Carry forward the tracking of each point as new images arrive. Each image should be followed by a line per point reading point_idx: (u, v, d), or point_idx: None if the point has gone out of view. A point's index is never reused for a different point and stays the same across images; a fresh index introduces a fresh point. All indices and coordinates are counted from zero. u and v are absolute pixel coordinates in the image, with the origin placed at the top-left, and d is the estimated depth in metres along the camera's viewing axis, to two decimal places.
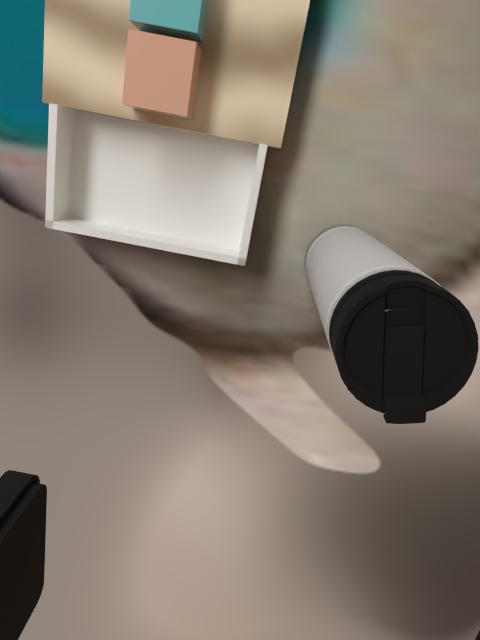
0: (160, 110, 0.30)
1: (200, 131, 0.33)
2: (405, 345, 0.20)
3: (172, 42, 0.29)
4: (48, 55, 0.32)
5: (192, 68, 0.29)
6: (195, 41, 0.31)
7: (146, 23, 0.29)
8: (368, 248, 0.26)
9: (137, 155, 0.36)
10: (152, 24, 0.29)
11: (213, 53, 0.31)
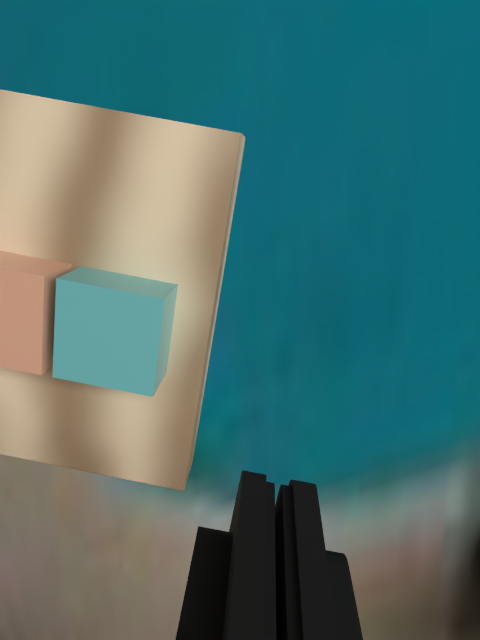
0: None
1: None
2: None
3: (35, 341, 0.19)
4: (29, 104, 0.18)
5: (7, 367, 0.20)
6: None
7: (56, 303, 0.18)
8: None
9: None
10: (56, 312, 0.19)
11: None
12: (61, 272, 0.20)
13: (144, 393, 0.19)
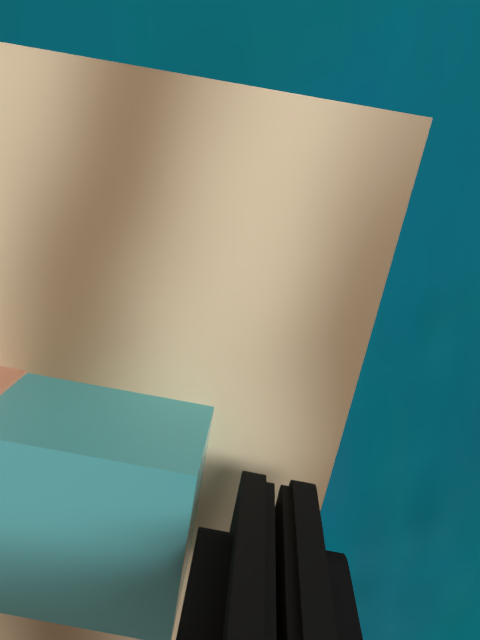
0: None
1: None
2: None
3: None
4: None
5: None
6: None
7: None
8: None
9: None
10: None
11: None
12: None
13: (153, 638, 0.10)
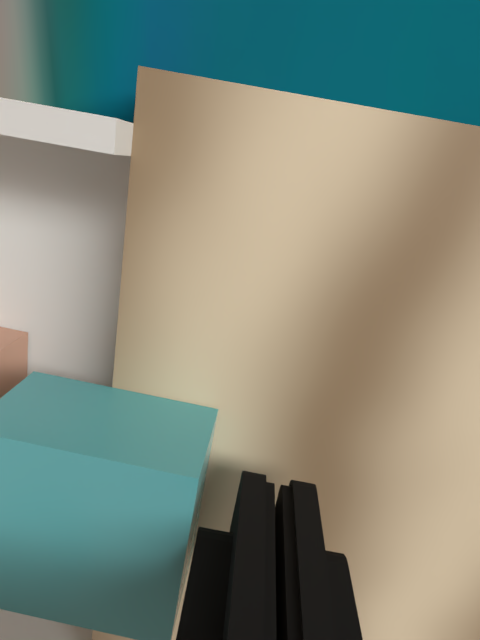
0: None
1: None
2: None
3: None
4: (300, 115, 0.08)
5: None
6: None
7: None
8: None
9: (49, 339, 0.12)
10: None
11: None
12: None
13: None
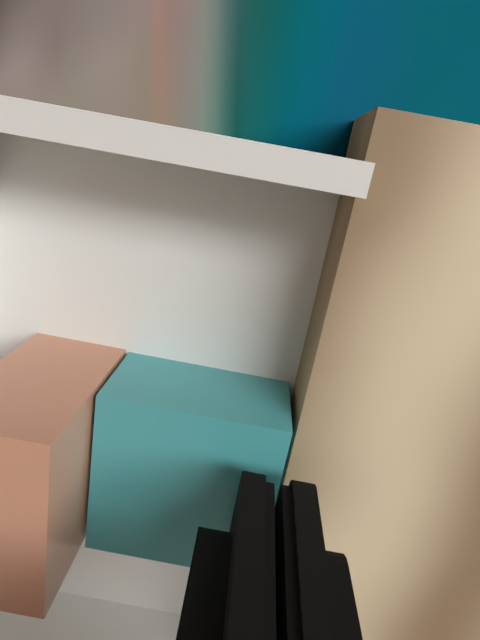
0: None
1: None
2: None
3: None
4: None
5: None
6: None
7: (94, 435, 0.10)
8: None
9: None
10: (94, 449, 0.11)
11: (447, 619, 0.12)
12: (0, 444, 0.08)
13: None
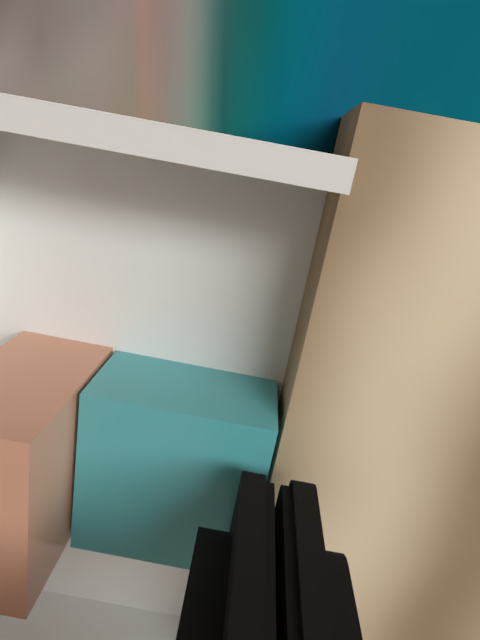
0: None
1: None
2: None
3: None
4: None
5: None
6: None
7: (78, 433, 0.10)
8: None
9: None
10: (78, 447, 0.11)
11: (435, 620, 0.12)
12: None
13: None
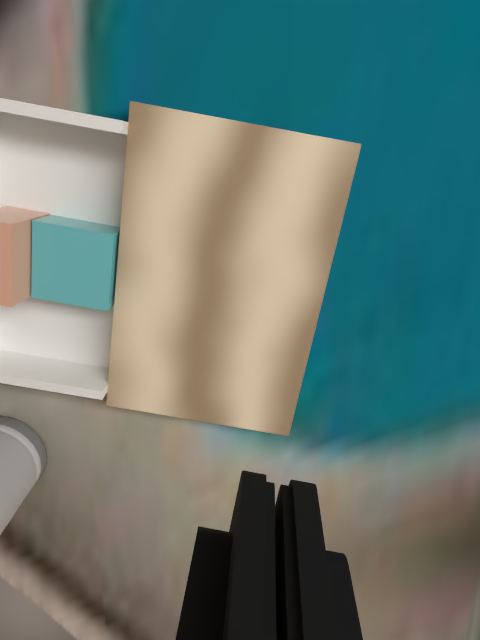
0: None
1: (114, 318, 0.27)
2: None
3: None
4: (190, 119, 0.23)
5: None
6: None
7: (32, 240, 0.25)
8: None
9: None
10: (33, 247, 0.25)
11: (199, 335, 0.27)
12: None
13: (101, 308, 0.26)
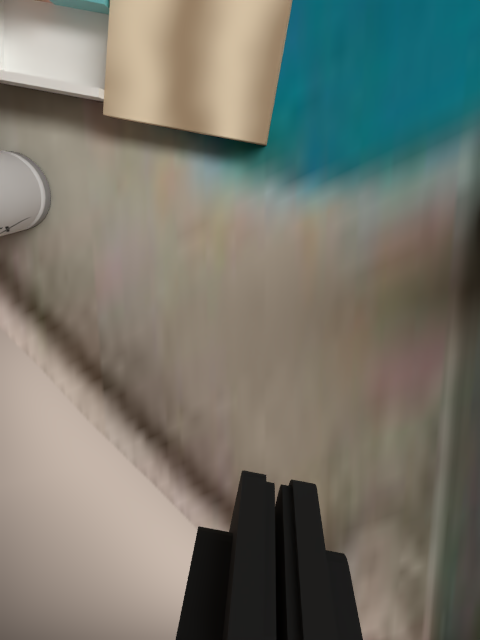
0: None
1: (110, 18, 0.30)
2: None
3: None
4: None
5: None
6: None
7: None
8: None
9: None
10: None
11: (184, 33, 0.30)
12: None
13: (98, 1, 0.30)
